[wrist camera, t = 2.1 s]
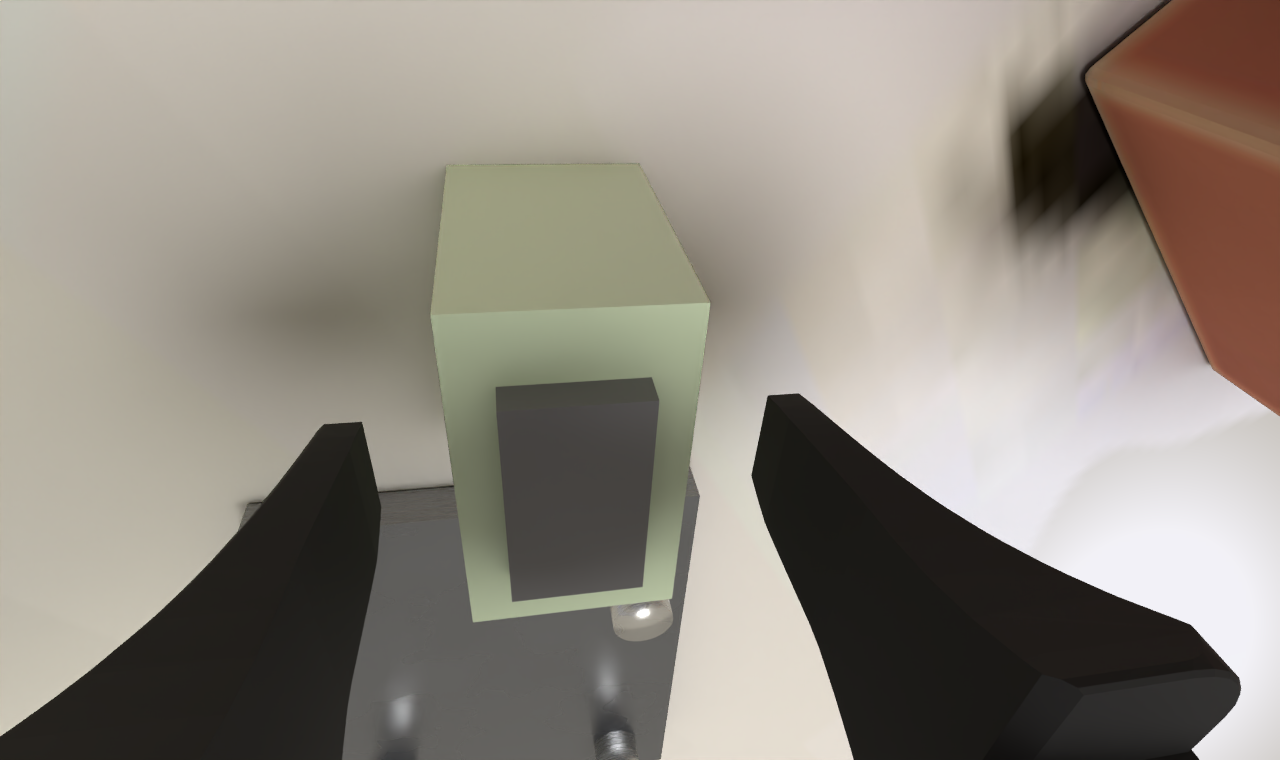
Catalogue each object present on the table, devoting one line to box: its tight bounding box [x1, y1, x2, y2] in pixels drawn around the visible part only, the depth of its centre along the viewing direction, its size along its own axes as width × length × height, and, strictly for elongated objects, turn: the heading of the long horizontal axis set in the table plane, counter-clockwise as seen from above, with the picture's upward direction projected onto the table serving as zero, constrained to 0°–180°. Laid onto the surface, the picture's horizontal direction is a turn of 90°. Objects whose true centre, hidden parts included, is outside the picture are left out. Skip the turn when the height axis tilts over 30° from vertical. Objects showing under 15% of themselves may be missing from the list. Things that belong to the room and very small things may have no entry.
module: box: [430, 163, 710, 622], centre depth 14 cm, size 4×7×7 cm, turn 177°
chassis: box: [238, 466, 700, 760], centre depth 23 cm, size 12×15×4 cm
